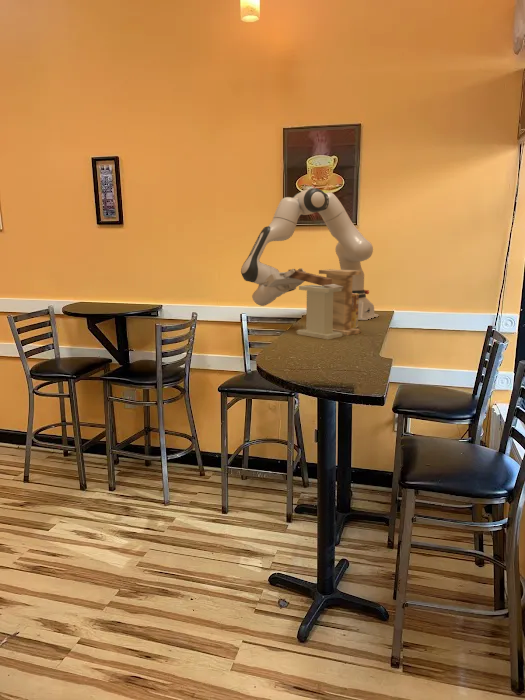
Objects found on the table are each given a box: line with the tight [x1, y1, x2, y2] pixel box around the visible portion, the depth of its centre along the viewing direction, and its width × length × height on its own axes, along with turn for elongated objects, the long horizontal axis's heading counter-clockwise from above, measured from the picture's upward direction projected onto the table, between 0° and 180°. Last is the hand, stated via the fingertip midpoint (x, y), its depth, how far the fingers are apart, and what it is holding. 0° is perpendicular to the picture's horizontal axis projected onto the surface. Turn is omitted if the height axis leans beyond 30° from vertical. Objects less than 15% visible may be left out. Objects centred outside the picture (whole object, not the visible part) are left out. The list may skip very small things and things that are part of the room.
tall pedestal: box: [318, 268, 362, 336], centre depth 225 cm, size 9×17×26 cm, turn 42°
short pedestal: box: [296, 284, 343, 340], centre depth 218 cm, size 9×17×20 cm, turn 42°
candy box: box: [351, 293, 359, 329], centre depth 236 cm, size 9×4×15 cm, turn 63°
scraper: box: [287, 269, 344, 290], centre depth 218 cm, size 27×6×3 cm, turn 42°
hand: (298, 270), depth 223 cm, fingers closed on scraper, 3 cm apart
